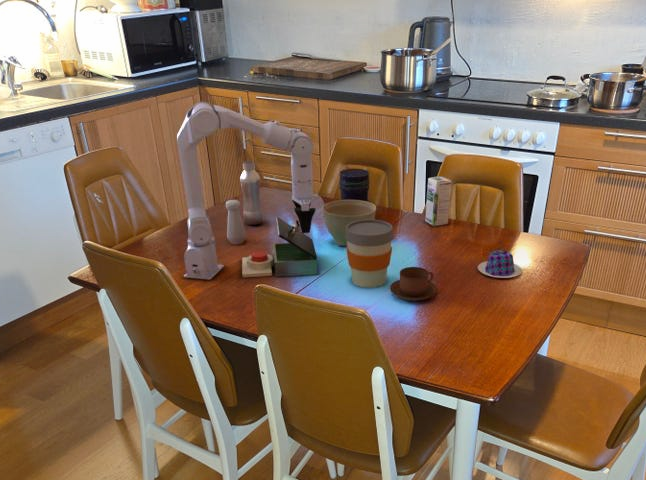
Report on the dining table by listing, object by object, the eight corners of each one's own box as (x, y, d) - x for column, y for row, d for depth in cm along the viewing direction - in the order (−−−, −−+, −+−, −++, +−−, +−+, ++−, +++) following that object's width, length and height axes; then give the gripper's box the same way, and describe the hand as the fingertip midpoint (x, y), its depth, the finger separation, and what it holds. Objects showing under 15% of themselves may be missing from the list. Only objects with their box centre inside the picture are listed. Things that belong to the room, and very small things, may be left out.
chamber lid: (278, 236, 170) (286, 223, 169) (275, 218, 182) (283, 206, 181) (316, 259, 175) (324, 247, 174) (311, 240, 187) (319, 229, 186)
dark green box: (275, 277, 176) (274, 262, 174) (273, 257, 188) (272, 243, 186) (317, 274, 177) (316, 259, 175) (312, 254, 189) (311, 241, 187)
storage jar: (374, 215, 219) (374, 171, 212) (359, 223, 212) (359, 178, 205) (349, 210, 224) (349, 167, 216) (334, 218, 217) (333, 173, 209)
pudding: (506, 260, 185) (508, 243, 182) (530, 276, 175) (533, 258, 172) (469, 266, 181) (471, 249, 178) (492, 283, 171) (494, 264, 169)
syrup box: (424, 221, 214) (426, 177, 206) (439, 218, 216) (442, 175, 208) (433, 226, 209) (436, 182, 202) (448, 224, 211) (452, 180, 204)
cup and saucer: (407, 281, 173) (408, 259, 170) (445, 292, 166) (447, 270, 163) (380, 296, 165) (381, 274, 162) (419, 309, 159) (420, 286, 155)
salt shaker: (248, 239, 201) (244, 198, 194) (244, 245, 196) (239, 204, 189) (230, 238, 201) (225, 197, 195) (225, 245, 196) (220, 203, 190)
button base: (242, 277, 176) (241, 268, 174) (242, 260, 186) (241, 251, 184) (274, 275, 177) (273, 266, 175) (272, 258, 187) (271, 249, 185)
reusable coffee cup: (352, 292, 167) (352, 238, 159) (340, 274, 177) (339, 221, 169) (398, 287, 170) (400, 232, 162) (383, 269, 180) (384, 217, 172)
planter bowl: (384, 246, 194) (385, 211, 189) (334, 254, 189) (333, 218, 184) (363, 229, 207) (364, 196, 202) (316, 236, 202) (315, 202, 196)
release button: (252, 263, 178) (251, 257, 177) (251, 257, 182) (251, 251, 181) (267, 262, 179) (267, 256, 178) (267, 256, 182) (266, 250, 181)
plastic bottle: (240, 226, 211) (234, 164, 201) (249, 219, 216) (243, 159, 206) (258, 227, 209) (253, 165, 199) (266, 221, 215) (262, 160, 204)
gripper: (319, 186, 168) (321, 236, 175) (314, 171, 180) (316, 218, 187) (292, 187, 167) (295, 237, 174) (289, 172, 179) (292, 219, 186)
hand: (304, 227), depth 180 cm, fingers open, 7 cm apart
